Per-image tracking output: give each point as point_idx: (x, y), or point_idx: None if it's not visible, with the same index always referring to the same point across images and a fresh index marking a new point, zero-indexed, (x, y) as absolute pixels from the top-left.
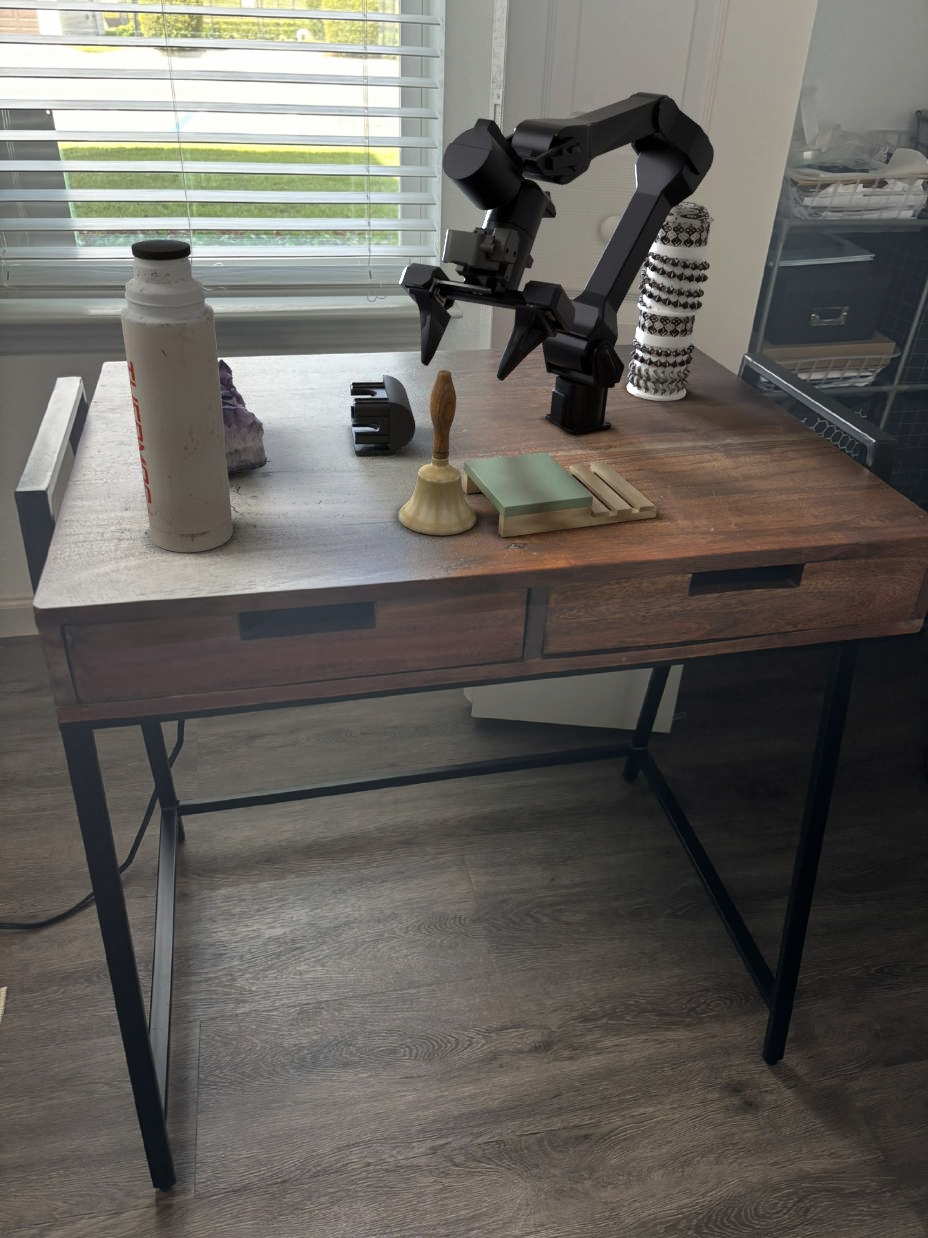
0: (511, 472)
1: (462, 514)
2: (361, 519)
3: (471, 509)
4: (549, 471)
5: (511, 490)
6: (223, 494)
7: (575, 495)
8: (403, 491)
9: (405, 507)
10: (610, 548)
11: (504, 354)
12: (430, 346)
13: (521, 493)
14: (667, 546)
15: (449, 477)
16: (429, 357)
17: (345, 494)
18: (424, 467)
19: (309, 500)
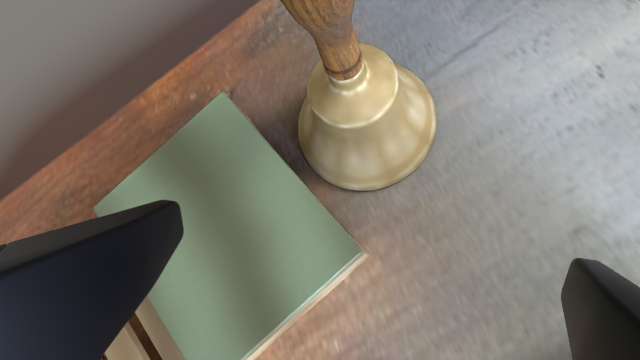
0: (248, 238)
1: (309, 104)
2: (484, 55)
3: (309, 148)
4: (179, 281)
5: (227, 157)
6: None
7: (120, 195)
8: (475, 193)
9: (417, 89)
10: (99, 163)
11: (96, 232)
12: (610, 344)
13: (207, 154)
14: (29, 208)
15: (319, 63)
16: (576, 316)
17: (576, 125)
18: (382, 67)
19: (626, 68)
